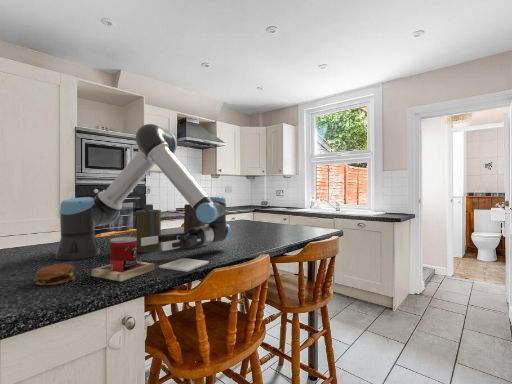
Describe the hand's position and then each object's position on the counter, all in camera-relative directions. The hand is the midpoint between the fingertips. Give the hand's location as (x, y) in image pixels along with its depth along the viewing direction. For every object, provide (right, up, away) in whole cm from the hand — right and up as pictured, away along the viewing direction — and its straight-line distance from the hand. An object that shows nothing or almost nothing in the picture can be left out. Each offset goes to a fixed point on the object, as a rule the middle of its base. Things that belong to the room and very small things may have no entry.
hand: (151, 244), depth 99 cm
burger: (-22, -8, -15) cm, 28 cm away
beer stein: (+8, -7, +38) cm, 40 cm away
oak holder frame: (-6, -8, -7) cm, 12 cm away
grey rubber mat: (+11, -7, +1) cm, 14 cm away
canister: (-11, -8, +27) cm, 30 cm away
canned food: (-6, -8, -7) cm, 12 cm away
